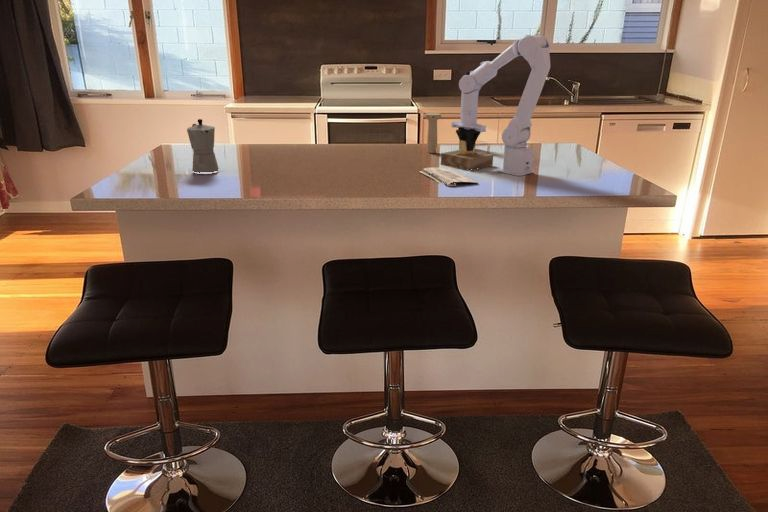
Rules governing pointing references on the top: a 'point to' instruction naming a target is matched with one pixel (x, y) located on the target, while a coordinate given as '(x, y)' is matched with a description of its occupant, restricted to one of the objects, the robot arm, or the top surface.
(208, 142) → the coffeepot
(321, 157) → the top surface
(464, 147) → the wooden block
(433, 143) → the handle
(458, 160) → the well block
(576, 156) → the top surface
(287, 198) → the top surface
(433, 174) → the newspaper
